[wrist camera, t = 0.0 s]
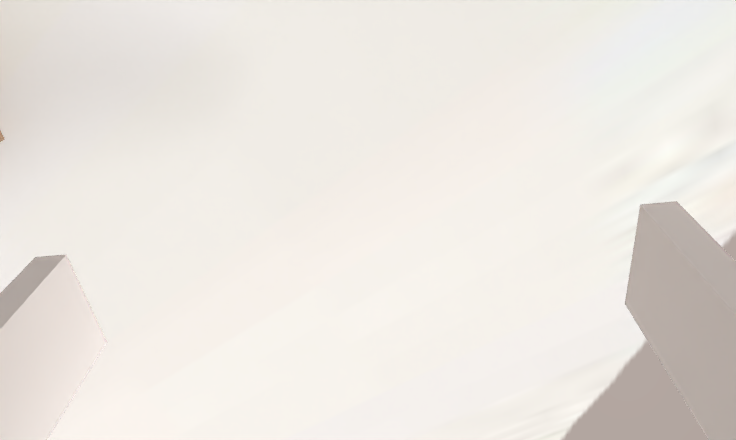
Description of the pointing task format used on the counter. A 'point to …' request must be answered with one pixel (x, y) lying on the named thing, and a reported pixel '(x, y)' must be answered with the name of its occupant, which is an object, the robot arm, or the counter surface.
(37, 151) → the counter surface
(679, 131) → the counter surface
